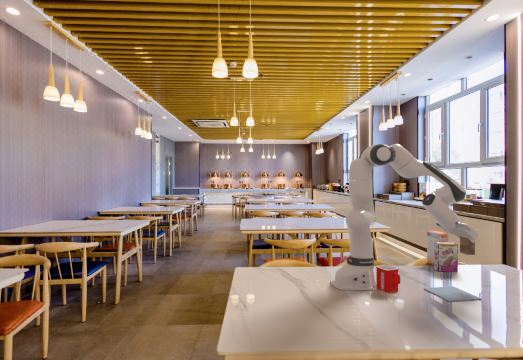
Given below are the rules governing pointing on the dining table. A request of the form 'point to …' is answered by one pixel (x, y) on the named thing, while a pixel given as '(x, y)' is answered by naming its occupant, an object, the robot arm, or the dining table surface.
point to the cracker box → (431, 239)
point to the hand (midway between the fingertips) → (468, 240)
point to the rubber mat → (452, 294)
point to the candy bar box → (446, 257)
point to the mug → (387, 278)
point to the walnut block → (467, 246)
